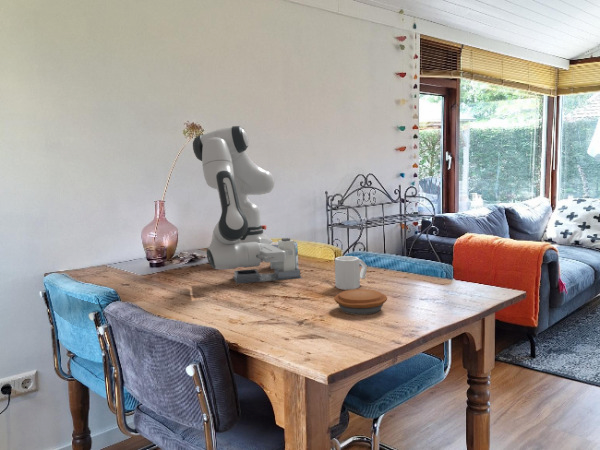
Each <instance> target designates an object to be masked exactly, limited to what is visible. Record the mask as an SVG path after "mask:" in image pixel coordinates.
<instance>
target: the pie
mask: <svg viewBox="0 0 600 450" xmlns="http://www.w3.org/2000/svg"><path fill="white" fill-rule="evenodd" d="M333 299H334V301H335V302H336V304H338V306H339V308H340V309H341V311H343V313H346V314H350V315H371V314H372V315H373V314H375V313H379V311H380V310H381V309H382V307H383V305H384V304H385V303H386V302H387V300H388V297H387V295H385V294H383V293H382V292H380V291H378V290H373V289H366V288H365V289H364V288H363V289H361V288H356V289H348V290H343V291H341V292H340V293H338V294H337V295H335V296H334V297H333Z"/></svg>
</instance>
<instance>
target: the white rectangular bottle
mask: <svg viewBox="0 0 600 450" xmlns="http://www.w3.org/2000/svg"><path fill="white" fill-rule="evenodd" d="M277 242H278V248H279V249H281V250H284V251H285V250H292V251H293V254H292V255H288V256H286V260H285V261H282V262H279V271H292V270H295V250H294V242H295V240H293V239H291V238H290V237H283V238H281V239H278V240H277Z"/></svg>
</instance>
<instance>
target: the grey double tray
mask: <svg viewBox="0 0 600 450" xmlns="http://www.w3.org/2000/svg"><path fill="white" fill-rule="evenodd" d="M273 271H274V272H271V273H260V272H259V271H258V270H257V269H256V268H253V269H243V270H242V269H241V270H234V272H233V273H234V276H233V275H232V278H233V280H234V282H235V283H236V285H237V284H247V283H248V284H250V283H260V282H261V283H262V282H274V281H282V280H283V281H285V280H287V281H288V280H297V279H303V276H301V270H300V269H299V267H298V268H297V267H296V266H295V270H292V271H279V267H277V268H274V269H273Z"/></svg>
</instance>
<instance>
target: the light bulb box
mask: <svg viewBox="0 0 600 450" xmlns="http://www.w3.org/2000/svg"><path fill="white" fill-rule="evenodd" d="M270 245H272V246H274V247H278V241H277V242H275V241H274V242H272V243H271V244H270ZM294 250H295V266H296V267H297V268H298V269H299V253H298V251H299V249H298V241H294ZM269 264H270V265H269V266H270V267H269V269H270V270H272V269H273V270H274V268H277V267H279V262H269Z"/></svg>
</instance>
